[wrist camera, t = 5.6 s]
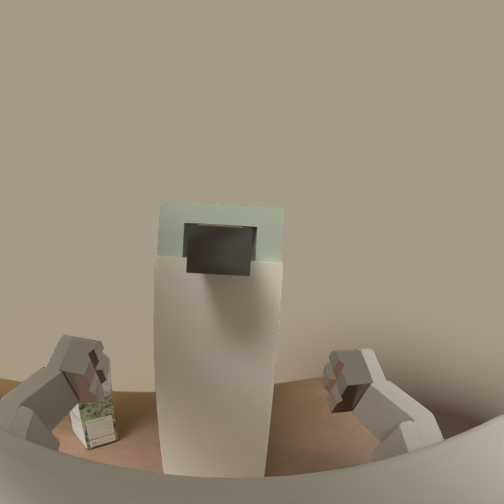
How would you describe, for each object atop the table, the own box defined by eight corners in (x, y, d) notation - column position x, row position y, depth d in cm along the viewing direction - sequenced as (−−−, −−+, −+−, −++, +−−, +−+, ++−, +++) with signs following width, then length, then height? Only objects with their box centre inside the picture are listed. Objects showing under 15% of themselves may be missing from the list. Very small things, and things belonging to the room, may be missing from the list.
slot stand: (165, 484, 28) (158, 199, 27) (176, 428, 42) (178, 214, 41) (262, 487, 29) (286, 206, 29) (251, 430, 43) (264, 219, 42)
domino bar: (186, 272, 19) (188, 223, 19) (200, 253, 33) (202, 225, 33) (249, 276, 19) (252, 226, 19) (237, 255, 33) (239, 227, 33)
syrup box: (102, 423, 38) (91, 341, 38) (120, 441, 35) (109, 354, 35) (72, 431, 34) (57, 346, 34) (88, 451, 30) (70, 361, 30)
